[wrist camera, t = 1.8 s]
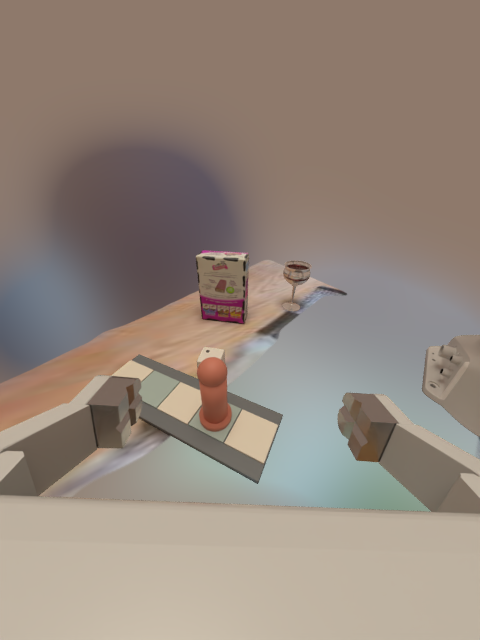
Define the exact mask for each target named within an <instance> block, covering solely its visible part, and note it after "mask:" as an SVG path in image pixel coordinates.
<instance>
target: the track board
mask: <svg viewBox="0 0 480 640" xmlns="http://www.w3.org/2000/svg"><path fill="white" fill-rule="evenodd" d="M111 376H119V377H130V378H139V379H140V380H141V389H140V391H139V394H140V395H141V396H142V409H141V413H140V416H139V418H140V419H142V420H144V421H145V422H147V423H149V424H151V425H153V426H154V427H156V428H158V429H160V430H162V431H163V432H165V433H167V434H169V435H171V436H172V437H174V438H176V439H178V440H180V441H181V442H183V443H185V444H187V445H189V446H190V447H192V448H194V449H196V450H198V451H200V452H202V453H203V454H205V455H207V456H209V457H210V458H212V459H214V460H216V461H217V462H219V463H221V464H223V465H225V466H226V467H228V468H230V469H232V470H234V471H236V472H237V473H239V474H241V475H243V476H244V477H246V478H248V479H250V480H252V481H253V482H255V483H257V484H258V482H259V480H260V477H261V474H262V471H263V468H264V466H265V463H266V460H267V458H268V455H269V452H270V450H271V447H272V444H273V441H274V439H275V436H276V433H277V430H278V428H279V425H280V422H281V419H282V416H283V415H282V414H280V413H277V412H275V411H272V410H270V409H268V408H265V407H263V406H261V405H258V404H256V403H253V402H251V401H249V400H246V399H244V398H242V397H239V396H237V395H234V394H232V393H230V392H227V403H228V404H229V405H230V407H231V411H232V418H231V421H230V423H229V425H228V426H227V427H226V428H225V429H223V430H221V431H217V432H212V431H208V430H206V429H205V428H204V427H203V426H202V425H201V423H200V417H199V412H200V409H201V407H202V400H201V393H200V385H199V379H196V378H194V377H192V376H189V375H187V374H185V373H182V372H180V371H177V370H175V369H173V368H170V367H168V366H166V365H163V364H161V363H158V362H156V361H154V360H151V359H149V358H147V357H144V356H142V355H138V356H136V357H135V358H134V359H133V360H130V361H129V362H128V363H126V364H125V365H124V366H123V367H121V368H120V369H119V370H118V371H116V372H115V373H114V374H113V375H111Z"/></svg>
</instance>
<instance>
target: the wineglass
mask: <svg viewBox="0 0 480 640" xmlns="http://www.w3.org/2000/svg"><path fill="white" fill-rule="evenodd" d="M310 268H311V265H310V264H308V263H306V262H303V261H288V262H286V263H285V269H284V271H283V275H284V279H285V280H286V281H287V282H288V283H290V284H292V286H293V290H292V299H291V302H286V303H284V304H283V305H282V307H283V308H284V309H286V310H288V311H297V310H299V309H300V306H299V305H298V304H297V303H294V302H293V298H294V293H295V289H296V286H298V285H301V284H303V283H305V282H306V281H307V280H308V279H309V277H310Z"/></svg>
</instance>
